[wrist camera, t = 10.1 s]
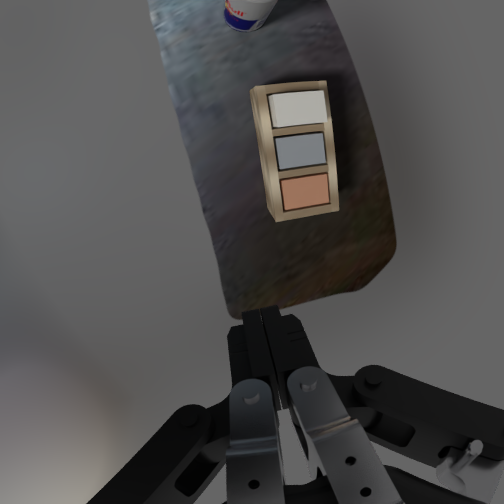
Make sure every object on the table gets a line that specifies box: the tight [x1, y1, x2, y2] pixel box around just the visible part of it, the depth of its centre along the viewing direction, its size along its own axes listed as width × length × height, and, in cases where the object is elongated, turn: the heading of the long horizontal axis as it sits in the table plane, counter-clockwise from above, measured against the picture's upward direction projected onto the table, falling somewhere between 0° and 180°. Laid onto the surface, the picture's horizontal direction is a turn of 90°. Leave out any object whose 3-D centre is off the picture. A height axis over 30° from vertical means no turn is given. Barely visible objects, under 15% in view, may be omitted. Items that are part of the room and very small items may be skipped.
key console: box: [250, 81, 339, 222], centre depth 35 cm, size 16×8×6 cm, turn 9°
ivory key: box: [268, 91, 328, 127], centre depth 30 cm, size 4×6×3 cm, turn 99°
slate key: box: [273, 132, 326, 169], centre depth 34 cm, size 4×6×3 cm, turn 99°
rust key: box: [279, 172, 329, 210], centre depth 36 cm, size 4×6×3 cm, turn 99°
